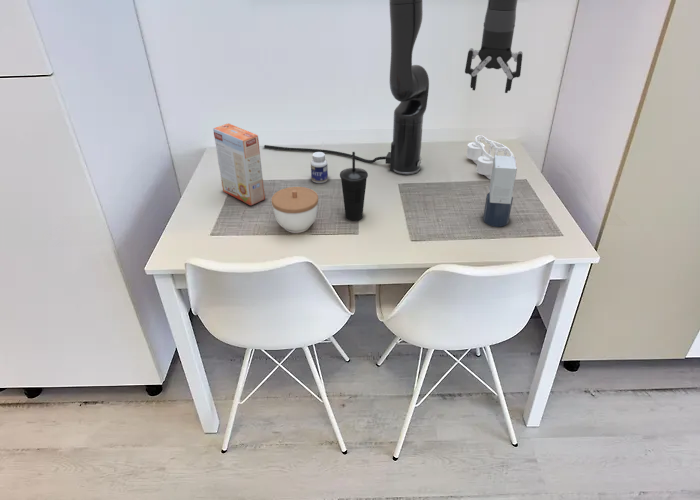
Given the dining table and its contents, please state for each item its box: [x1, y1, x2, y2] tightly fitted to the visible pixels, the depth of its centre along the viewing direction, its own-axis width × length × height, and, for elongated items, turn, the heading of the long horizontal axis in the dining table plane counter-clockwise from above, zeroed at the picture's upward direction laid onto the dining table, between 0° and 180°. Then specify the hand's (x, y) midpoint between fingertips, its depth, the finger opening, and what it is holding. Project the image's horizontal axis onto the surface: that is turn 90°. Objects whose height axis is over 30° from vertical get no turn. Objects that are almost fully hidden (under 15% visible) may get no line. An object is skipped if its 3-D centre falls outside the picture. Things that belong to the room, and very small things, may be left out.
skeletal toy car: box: [465, 134, 514, 180], centre depth 175 cm, size 20×11×7 cm, turn 7°
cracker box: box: [212, 122, 266, 206], centre depth 158 cm, size 14×6×21 cm, turn 47°
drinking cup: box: [339, 151, 369, 222], centre depth 147 cm, size 8×8×20 cm
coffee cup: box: [482, 192, 514, 228], centre depth 148 cm, size 7×7×8 cm
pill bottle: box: [310, 152, 329, 184], centre depth 169 cm, size 5×5×9 cm
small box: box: [488, 154, 518, 204], centre depth 143 cm, size 8×6×10 cm
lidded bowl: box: [270, 186, 319, 234], centre depth 146 cm, size 13×13×11 cm
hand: (489, 90), depth 144 cm, fingers open, 8 cm apart
